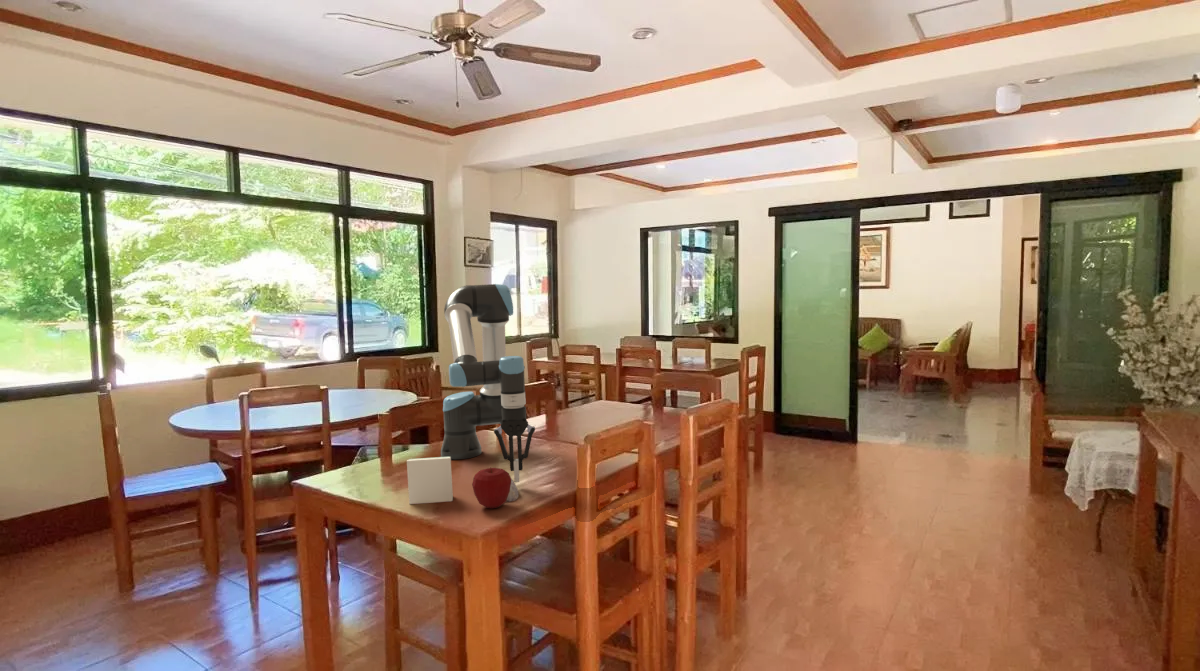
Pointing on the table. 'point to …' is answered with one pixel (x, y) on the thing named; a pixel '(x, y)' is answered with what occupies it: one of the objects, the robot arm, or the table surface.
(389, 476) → the table surface
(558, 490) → the table surface
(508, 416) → the robot arm
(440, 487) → the wall
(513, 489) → the stone
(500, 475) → the apple
